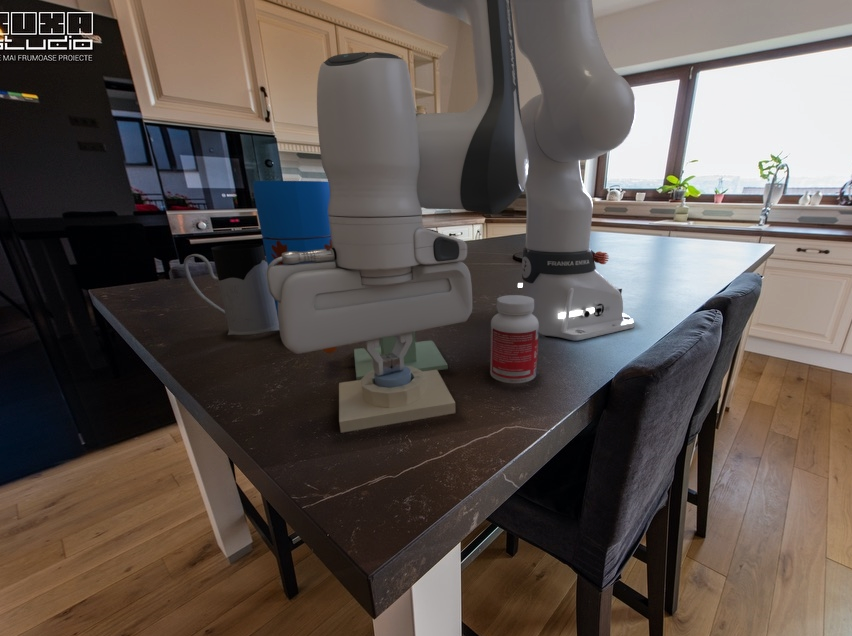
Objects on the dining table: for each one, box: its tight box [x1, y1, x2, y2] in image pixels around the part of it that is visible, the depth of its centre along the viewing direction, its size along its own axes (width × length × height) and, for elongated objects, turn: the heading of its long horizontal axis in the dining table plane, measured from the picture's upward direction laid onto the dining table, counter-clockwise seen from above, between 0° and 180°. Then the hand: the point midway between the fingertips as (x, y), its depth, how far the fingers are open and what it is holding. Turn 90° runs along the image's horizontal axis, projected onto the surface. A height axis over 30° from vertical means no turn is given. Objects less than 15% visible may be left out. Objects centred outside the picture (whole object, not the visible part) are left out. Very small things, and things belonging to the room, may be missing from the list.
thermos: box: [252, 180, 332, 316], centre depth 64 cm, size 11×11×25 cm
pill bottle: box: [489, 294, 539, 384], centre depth 51 cm, size 6×6×11 cm
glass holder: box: [183, 243, 279, 336], centre depth 68 cm, size 9×14×15 cm, turn 89°
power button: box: [374, 366, 411, 388], centre depth 44 cm, size 4×4×2 cm
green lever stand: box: [353, 331, 449, 381], centre depth 55 cm, size 12×10×12 cm
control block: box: [338, 366, 456, 434], centre depth 45 cm, size 12×9×4 cm
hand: (389, 371), depth 44 cm, fingers closed, pressing on power button
